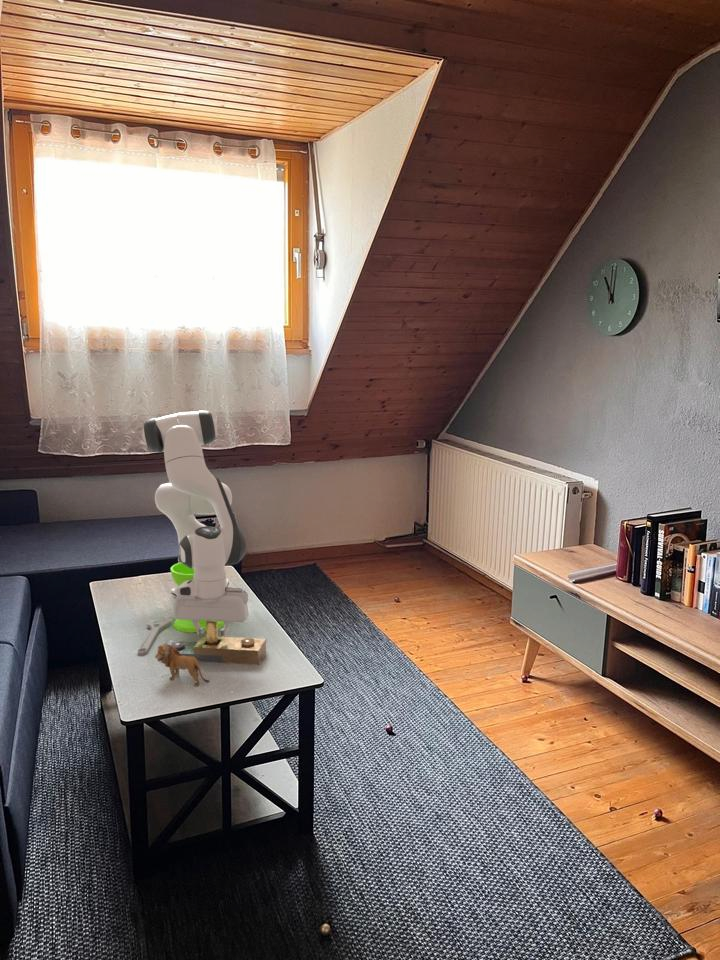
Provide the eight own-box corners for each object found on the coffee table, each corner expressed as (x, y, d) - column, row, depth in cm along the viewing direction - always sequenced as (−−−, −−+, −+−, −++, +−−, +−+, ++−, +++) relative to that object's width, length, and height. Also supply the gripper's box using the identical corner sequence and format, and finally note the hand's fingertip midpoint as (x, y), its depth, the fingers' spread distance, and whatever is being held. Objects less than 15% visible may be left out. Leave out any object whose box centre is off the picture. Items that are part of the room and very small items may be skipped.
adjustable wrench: (146, 657, 208) (146, 651, 207) (123, 656, 208) (123, 650, 208) (172, 622, 232) (172, 617, 232) (152, 622, 233) (152, 616, 232)
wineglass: (177, 636, 221) (174, 577, 218) (169, 617, 235) (166, 562, 232) (231, 628, 227) (229, 571, 223) (220, 610, 241) (218, 557, 238)
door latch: (170, 647, 213) (169, 630, 212) (266, 652, 209) (265, 635, 208) (159, 658, 205) (158, 641, 204) (258, 664, 201) (258, 647, 200)
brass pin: (209, 653, 209) (208, 619, 207) (219, 653, 208) (218, 619, 207) (205, 657, 206) (204, 623, 204) (216, 658, 205) (215, 623, 204)
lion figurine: (153, 680, 192) (151, 647, 191) (164, 671, 197) (163, 639, 196) (204, 688, 188) (202, 654, 186) (214, 679, 193) (213, 646, 191)
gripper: (250, 584, 205) (252, 632, 208) (179, 581, 208) (181, 628, 210) (244, 592, 199) (245, 641, 202) (170, 589, 202) (172, 637, 204)
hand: (212, 634), depth 206 cm, fingers open, 5 cm apart
